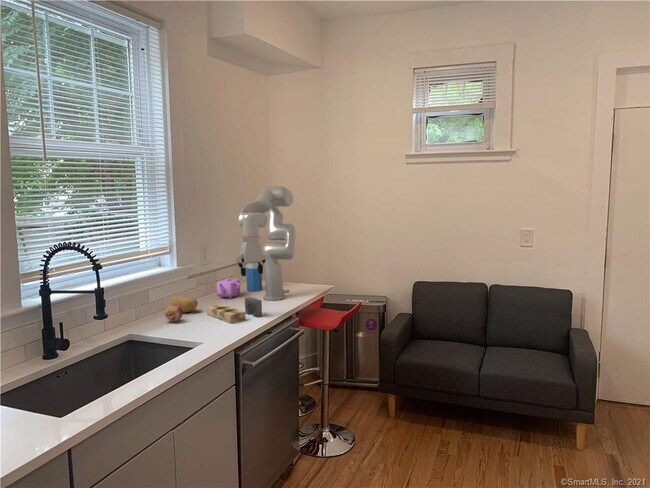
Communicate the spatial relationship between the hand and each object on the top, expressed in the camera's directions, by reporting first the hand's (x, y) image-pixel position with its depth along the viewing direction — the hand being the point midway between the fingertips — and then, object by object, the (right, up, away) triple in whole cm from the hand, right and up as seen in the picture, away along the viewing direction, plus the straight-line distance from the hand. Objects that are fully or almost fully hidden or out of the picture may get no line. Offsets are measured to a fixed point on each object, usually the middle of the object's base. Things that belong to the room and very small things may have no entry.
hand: (252, 274), depth 240 cm
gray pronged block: (0, -20, +3) cm, 20 cm away
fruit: (-35, -22, -7) cm, 42 cm away
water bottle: (-8, -13, +61) cm, 63 cm away
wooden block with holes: (-13, -21, -1) cm, 24 cm away
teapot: (-20, -16, +44) cm, 50 cm away
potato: (-35, -20, +11) cm, 42 cm away
